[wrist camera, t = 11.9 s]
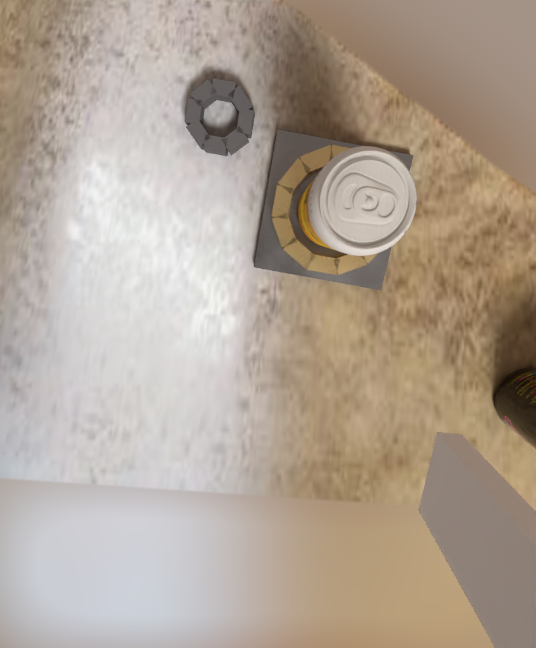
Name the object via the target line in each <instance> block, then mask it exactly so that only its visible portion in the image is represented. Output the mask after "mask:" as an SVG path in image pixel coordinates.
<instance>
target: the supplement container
mask: <svg viewBox="0 0 536 648" xmlns="http://www.w3.org/2000/svg"><path fill="white" fill-rule="evenodd" d="M495 405H496V410H497V413H498V415H499V417H500V419H501V420H502V421H503V422H504V423H505V424H506V425H507V426H509V427H510V428H511V429H512V430H513V431H515V432H516V433H517V434H518V435H519V436H521V437H522V438H523V439H524V440H525V441H526V442H528V443H529V444H530V445H531V446H532V447H534V448H535V449H536V368H526V369H521V370H518V371H516V372H514V373H512V374H511V375H509V376H508V377H507V378H506V379H505V380H504V381H503V382H502V383H501V385H500V387H499V388H498V391H497V394H496V398H495Z"/></svg>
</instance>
